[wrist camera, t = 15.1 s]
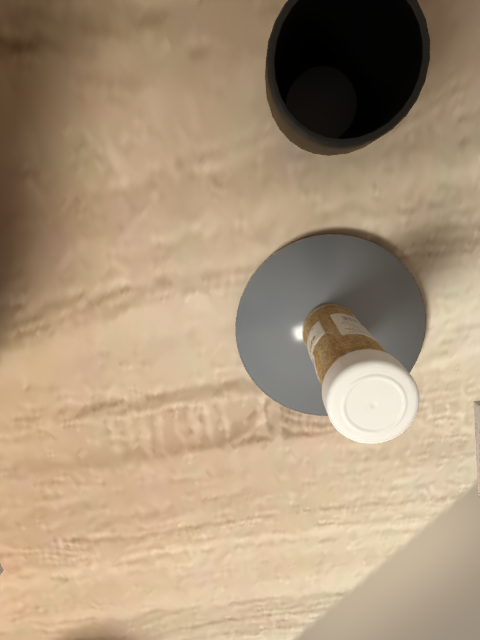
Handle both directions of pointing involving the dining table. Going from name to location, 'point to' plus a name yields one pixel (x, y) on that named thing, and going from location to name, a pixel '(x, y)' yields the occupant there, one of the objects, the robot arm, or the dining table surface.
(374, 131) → the mug
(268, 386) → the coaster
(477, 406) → the robot arm
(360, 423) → the sprinkles bottle
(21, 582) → the dining table surface
